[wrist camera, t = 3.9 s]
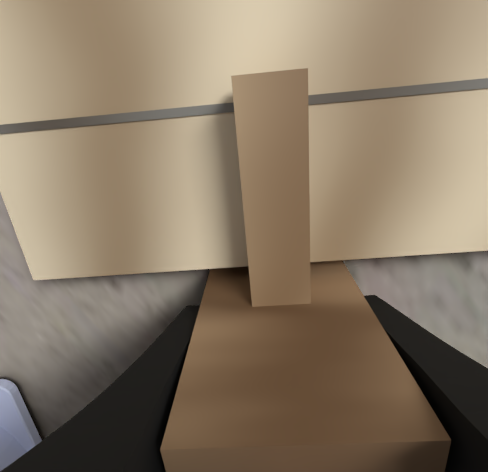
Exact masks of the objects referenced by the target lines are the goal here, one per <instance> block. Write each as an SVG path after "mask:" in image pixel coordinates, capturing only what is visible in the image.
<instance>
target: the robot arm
mask: <svg viewBox="0 0 488 472" xmlns="http://www.w3.org/2000/svg"><path fill="white" fill-rule="evenodd" d="M364 297H365V299H366V301H367V302H368V304H369V306H370V307H371V309H372V310H373V312H374V314H375V315H376V317H377V319H378V320H379V322H380V324H381V325H382V327H383V329H384V330H385V332H386V333H387V335H388V337H389V338H390V340H391V342H392V343H393V345H394V347H395V348H396V350H397V352H398V353H399V355H400V357H401V358H402V360H403V361H404V363H405V365H406V366H407V368H408V370H409V371H410V373H411V375H412V376H413V378H414V380H415V381H416V383H417V384H418V386H419V388H420V389H421V391H422V393H423V394H424V396H425V398H426V399H427V401H428V403H429V404H430V406H431V407H432V409H433V411H434V412H435V414H436V416H437V417H438V419H439V421H440V422H441V424H442V426H443V427H444V429H445V431H446V432H447V434H448V435H449V437H450V439H451V445H450V449H449V454H448V459H447V463H446V468H445V472H488V368H486V367H484V366H483V365H481V364H479V363H478V362H476V361H474V360H473V359H471V358H469V357H468V356H466V355H464V354H463V353H461V352H459V351H458V350H456V349H455V348H453V347H451V346H450V345H448V344H447V343H445V342H444V341H442V340H441V339H439V338H437V337H436V336H434V335H433V334H431V333H430V332H428V331H427V330H425V329H424V328H422V327H421V326H420V325H418V324H417V323H415V322H414V321H412V320H411V319H409V318H408V317H406V316H405V315H404V314H402V313H401V312H399V311H398V310H396V309H395V308H393V307H392V306H391V305H389V304H388V303H386V302H385V301H383V300H382V299H380V298H379V297H377V296H375V295H369V296H364ZM199 308H200V305H199V306H187V307H186V308H185V309H184V310H183V311H182V312H181V313H180V314H179V315H178V316H177V317H176V318H175V320H174V321H173V322H172V323H171V324H170V325H169V326H168V327H167V328H166V330H165V331H164V332H163V333H162V334H161V335H160V336H159V337H158V338H157V339H156V341H155V342H154V343H153V344H152V345H151V346H150V347H149V348H148V349H147V350H146V351H145V352H144V353H143V354H142V355H141V356H140V357H139V358H138V359H137V360H136V361H135V362H134V363H133V364H132V365H131V366H130V367H129V368H128V369H127V370H126V371H125V372H124V373H123V374H122V375H121V376H120V377H119V378H118V379H117V380H116V381H115V382H114V383H113V384H111V385H110V386H109V387H108V388H107V389H106V390H105V391H104V392H103V393H101V394H100V395H99V396H98V397H97V398H96V399H95V400H93V401H92V402H91V403H90V404H89V405H87V406H86V407H85V408H84V409H83V410H81V411H80V412H79V413H78V414H76V415H75V416H74V417H73V418H72V419H70V420H69V421H68V422H67V423H65V424H64V425H63V426H62V427H60V428H59V429H57V430H56V431H55V432H53V433H52V434H51V435H49V436H48V437H47V438H45V439H44V440H43V441H42V440H41V438H40V436H39V433H38V431H37V429H36V427H35V425H34V423H33V420H32V418H31V416H30V414H29V412H28V409H27V407H26V405H25V403H24V401H23V399H22V396H21V394H20V392H19V390H18V388H17V386H16V385H15V384H14V383H13V382H11V381H9V380H7V379H0V472H166V470H165V466H164V463H163V459H162V455H161V451H160V448H161V445H162V441H163V438H164V434H165V430H166V427H167V423H168V420H169V416H170V412H171V409H172V405H173V401H174V398H175V394H176V391H177V387H178V383H179V380H180V376H181V373H182V369H183V365H184V362H185V358H186V355H187V351H188V347H189V344H190V340H191V337H192V333H193V329H194V326H195V322H196V319H197V315H198V311H199Z"/></svg>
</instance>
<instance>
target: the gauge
mask: <svg viewBox="0 0 488 472" xmlns="http://www.w3.org/2000/svg"><path fill="white" fill-rule="evenodd" d="M231 80H232V91H233V102H234V113H235V124H236V135H237V146H238V157H239V168H240V179H241V190H242V201H243V212H244V223H245V234H246V245H247V256H248V266H245V267H230V268H215V269H210V272H209V275H208V279H207V283H206V286H205V290H204V293H203V297H202V301H201V304H200V308H199V311H198V315H197V319H196V322H195V326H194V329H193V333H192V337H191V340H190V344H189V347H188V351H187V355H186V358H185V362H184V365H183V369H182V373H181V376H180V380H179V383H178V387H177V391H176V394H175V398H174V401H173V405H172V409H171V412H170V416H169V420H168V423H167V427H166V430H165V434H164V438H163V441H162V445H161V448H160V451H161V455H162V459H163V463H164V466H165V470H166V472H445V468H446V463H447V459H448V454H449V449H450V445H451V439H450V437H449V435H448V434H447V432H446V431H445V429H444V427H443V426H442V424H441V422H440V421H439V419H438V417H437V416H436V414H435V412H434V411H433V409H432V407H431V406H430V404H429V403H428V401H427V399H426V398H425V396H424V394H423V393H422V391H421V389H420V388H419V386H418V384H417V383H416V381H415V380H414V378H413V376H412V375H411V373H410V371H409V370H408V368H407V366H406V365H405V363H404V361H403V360H402V358H401V357H400V355H399V353H398V352H397V350H396V348H395V347H394V345H393V343H392V342H391V340H390V338H389V337H388V335H387V333H386V332H385V330H384V329H383V327H382V325H381V324H380V322H379V320H378V319H377V317H376V315H375V314H374V312H373V310H372V309H371V307H370V306H369V304H368V302H367V301H366V299H365V297H364V296H363V294H362V292H361V291H360V289H359V287H358V286H357V284H356V282H355V281H354V279H353V278H352V276H351V274H350V273H349V271H348V269H347V268H346V266H345V264H344V263H343V261H342V260H337V261H321V262H310V194H309V107H308V68H303V69H293V70H283V71H274V72H264V73H254V74H244V75H234V76H231Z"/></svg>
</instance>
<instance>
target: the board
mask: <svg viewBox="0 0 488 472" xmlns="http://www.w3.org/2000/svg"><path fill="white" fill-rule="evenodd" d="M303 68H308V107H309V194H310V262H321V261H337V260H352V259H367V258H382V257H398V256H413V255H428V254H443V253H458V252H474V251H488V0H0V192H1V195H2V197H3V200H4V203H5V205H6V208H7V211H8V213H9V216H10V219H11V221H12V224H13V227H14V229H15V232H16V235H17V237H18V240H19V243H20V245H21V248H22V251H23V253H24V256H25V259H26V261H27V264H28V267H29V269H30V272H31V275H32V277H33V280H47V279H62V278H78V277H93V276H108V275H123V274H139V273H154V272H169V271H184V270H200V269H215V268H230V267H245V266H248V256H247V245H246V234H245V223H244V212H243V201H242V190H241V179H240V168H239V157H238V146H237V135H236V124H235V113H234V102H233V91H232V80H231V76H234V75H244V74H254V73H264V72H274V71H283V70H293V69H303Z"/></svg>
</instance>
